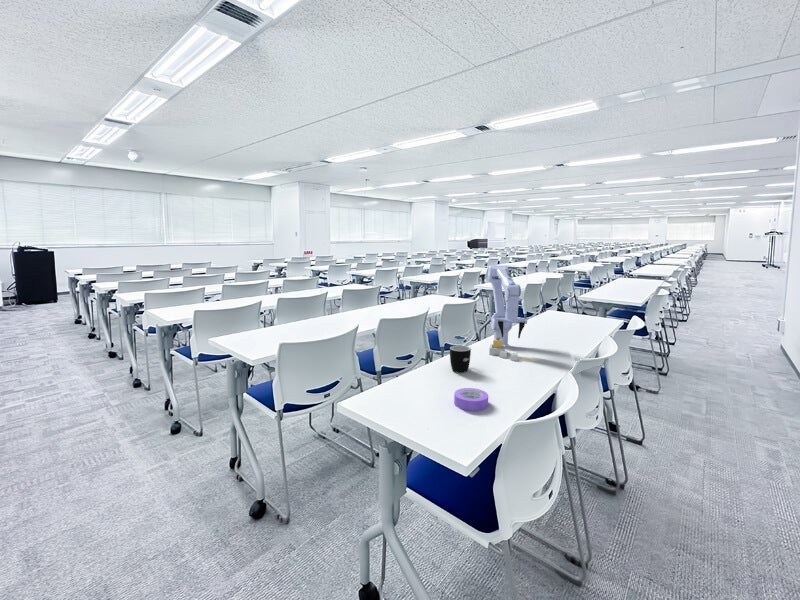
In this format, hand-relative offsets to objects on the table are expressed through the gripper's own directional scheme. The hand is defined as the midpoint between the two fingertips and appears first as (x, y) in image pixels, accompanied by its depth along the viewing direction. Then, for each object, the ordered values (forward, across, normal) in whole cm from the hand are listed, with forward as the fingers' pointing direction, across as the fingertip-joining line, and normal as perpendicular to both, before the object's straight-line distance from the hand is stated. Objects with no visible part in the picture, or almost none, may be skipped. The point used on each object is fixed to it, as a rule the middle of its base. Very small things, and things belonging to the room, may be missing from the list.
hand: (510, 337), depth 184 cm
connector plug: (+8, -6, -1) cm, 10 cm away
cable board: (+9, +1, -4) cm, 10 cm away
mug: (+10, -20, -26) cm, 34 cm away
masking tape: (+10, -12, -60) cm, 62 cm away
